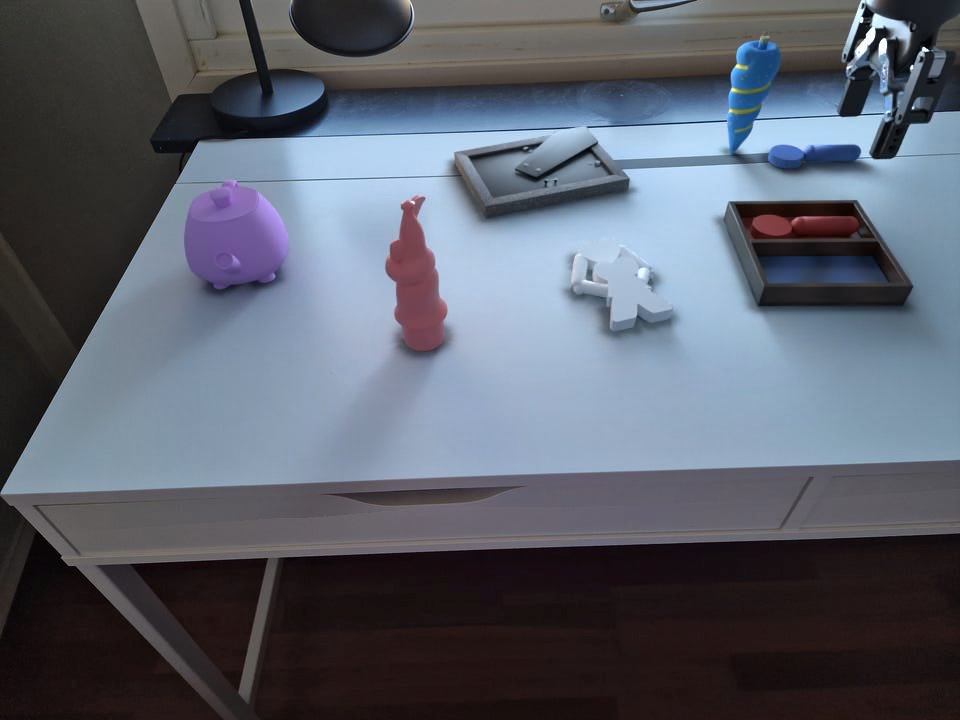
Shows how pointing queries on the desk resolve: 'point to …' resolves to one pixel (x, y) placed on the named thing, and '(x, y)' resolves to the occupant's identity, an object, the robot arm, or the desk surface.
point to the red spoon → (802, 226)
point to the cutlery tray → (816, 258)
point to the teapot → (234, 236)
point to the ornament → (750, 87)
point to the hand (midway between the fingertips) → (863, 135)
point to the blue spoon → (811, 154)
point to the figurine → (416, 283)
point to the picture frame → (539, 172)
